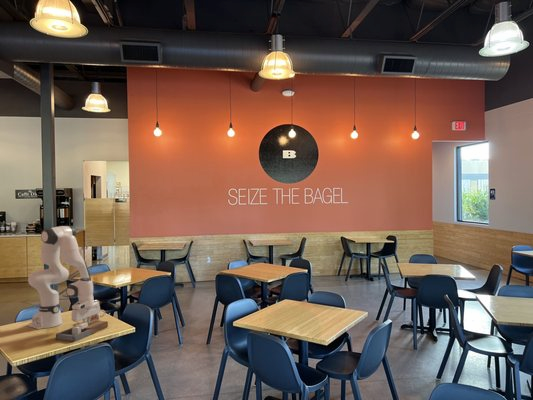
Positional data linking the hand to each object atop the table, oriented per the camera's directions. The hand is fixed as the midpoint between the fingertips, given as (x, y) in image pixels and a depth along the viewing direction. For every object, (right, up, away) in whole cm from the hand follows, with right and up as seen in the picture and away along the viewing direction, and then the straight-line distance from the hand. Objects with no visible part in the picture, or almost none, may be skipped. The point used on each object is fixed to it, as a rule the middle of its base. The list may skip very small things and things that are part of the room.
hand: (86, 324), depth 243 cm
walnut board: (+1, -5, +3) cm, 6 cm away
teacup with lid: (-4, -5, +21) cm, 22 cm away
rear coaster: (-1, -1, -4) cm, 4 cm away
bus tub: (-4, -5, -9) cm, 11 cm away
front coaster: (-2, -2, -6) cm, 7 cm away
